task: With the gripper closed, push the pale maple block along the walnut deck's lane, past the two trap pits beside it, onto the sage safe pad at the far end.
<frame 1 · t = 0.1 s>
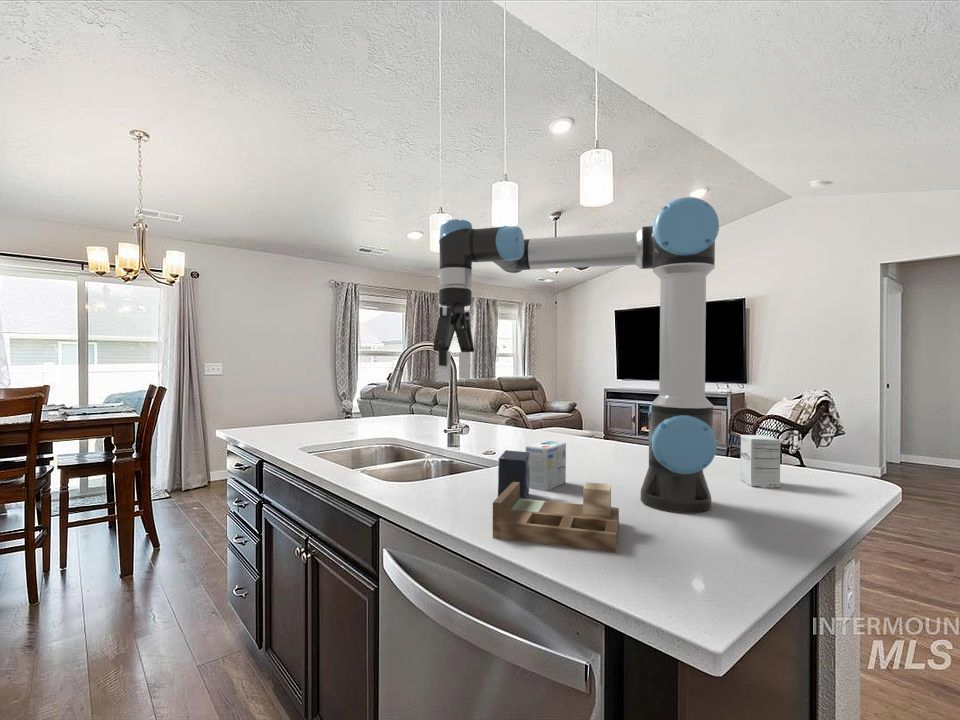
hand: (455, 379, 115), 28 cm above the worktop, fingers open, 13 cm apart
maple block: (597, 511, 97), point 3 cm above the worktop, touching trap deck
supplement box: (759, 484, 131), on the worktop
light bulb box: (546, 485, 129), on the worktop
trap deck: (558, 529, 95), on the worktop
small box: (514, 499, 116), on the worktop
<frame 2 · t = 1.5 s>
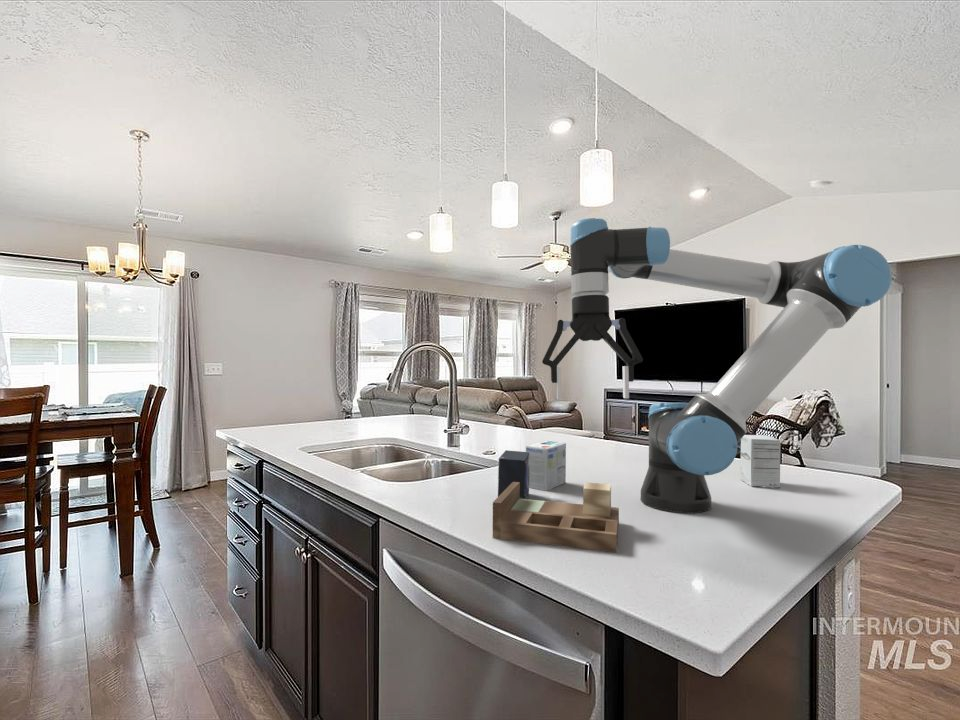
hand: (592, 398, 102), 25 cm above the worktop, fingers open, 13 cm apart
nothing on the worktop moved.
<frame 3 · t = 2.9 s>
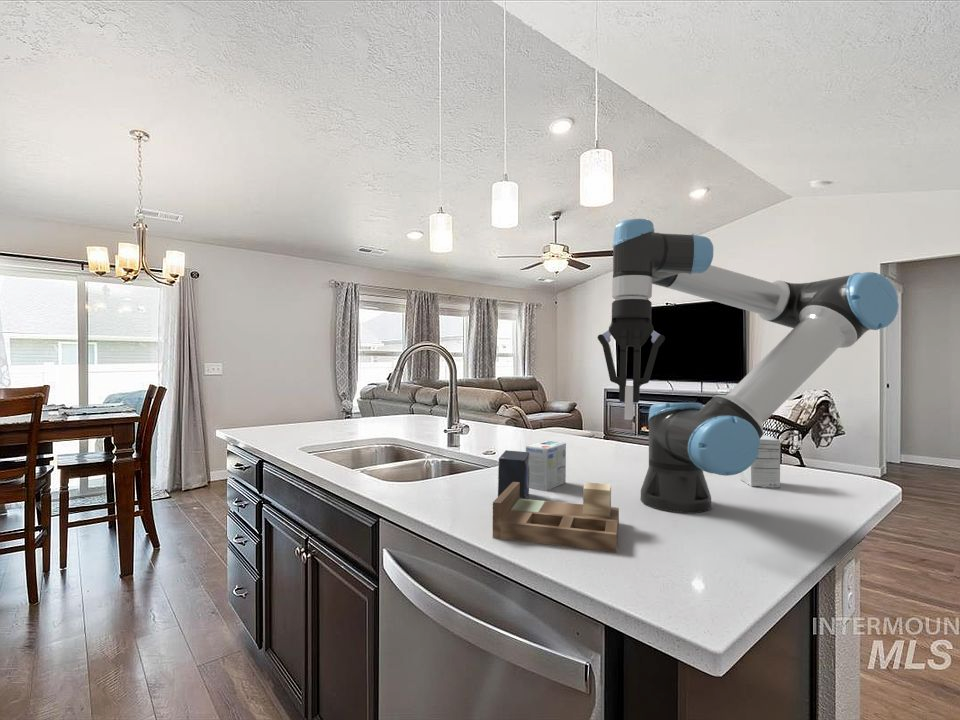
hand: (628, 418, 98), 21 cm above the worktop, fingers closed
nothing on the worktop moved.
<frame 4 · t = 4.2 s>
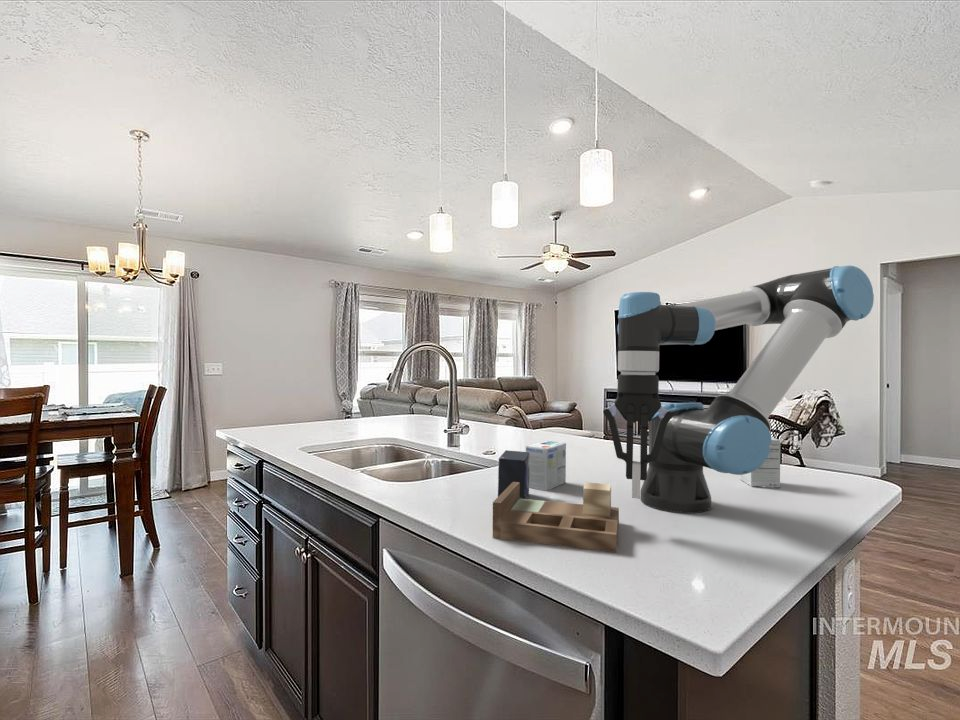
hand: (635, 496, 95), 7 cm above the worktop, fingers closed
nothing on the worktop moved.
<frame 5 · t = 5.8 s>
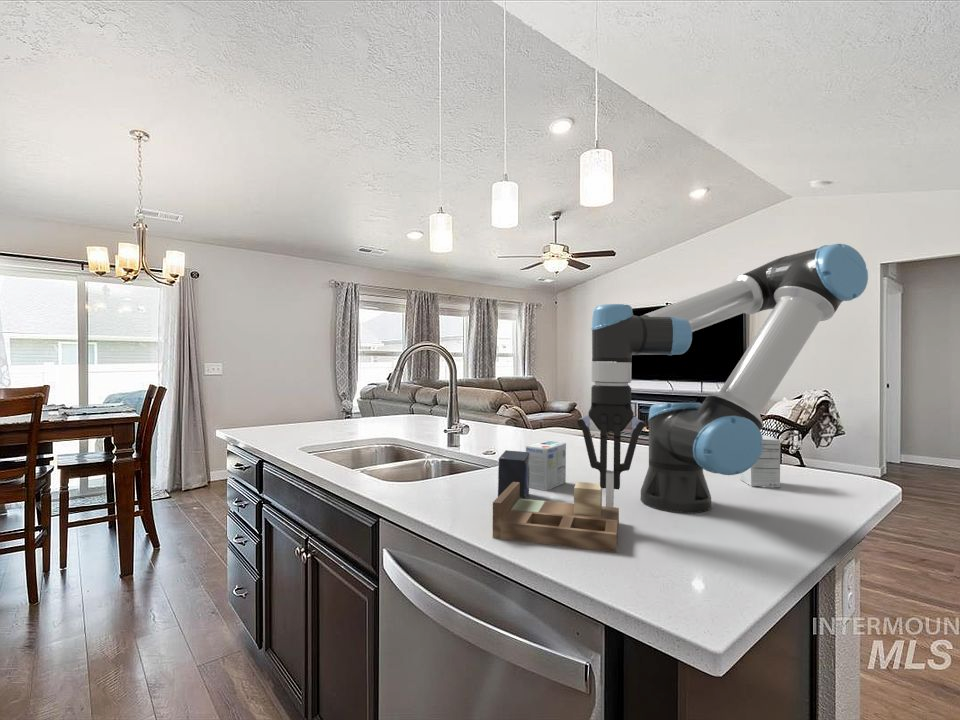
hand: (609, 505, 96), 5 cm above the worktop, fingers closed
maple block: (588, 510, 97), point 3 cm above the worktop, touching gripper, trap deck
everything else where it was.
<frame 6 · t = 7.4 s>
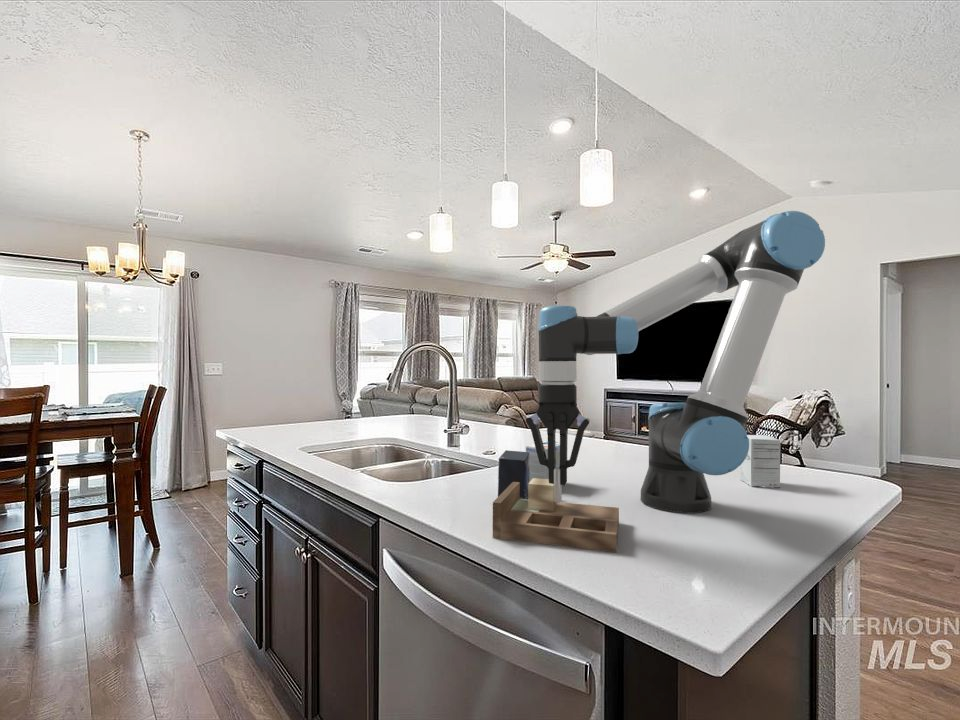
hand: (557, 500, 99), 5 cm above the worktop, fingers closed
maple block: (542, 506, 100), point 3 cm above the worktop, touching gripper
everything else where it was.
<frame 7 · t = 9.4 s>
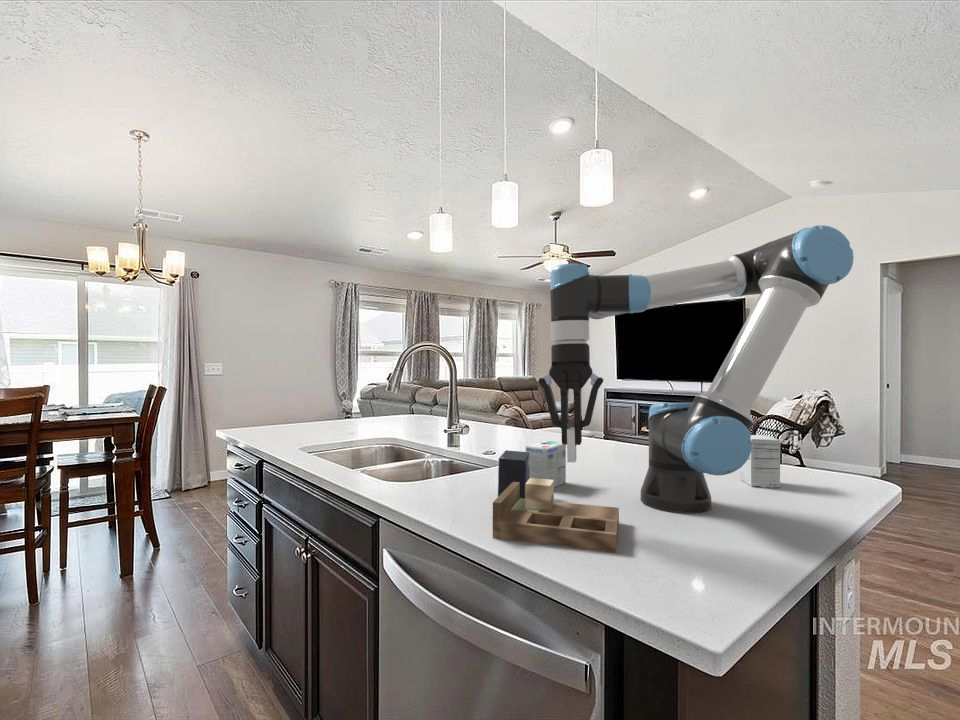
hand: (572, 460, 99), 13 cm above the worktop, fingers closed
maple block: (539, 506, 100), point 3 cm above the worktop, touching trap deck
everything else where it was.
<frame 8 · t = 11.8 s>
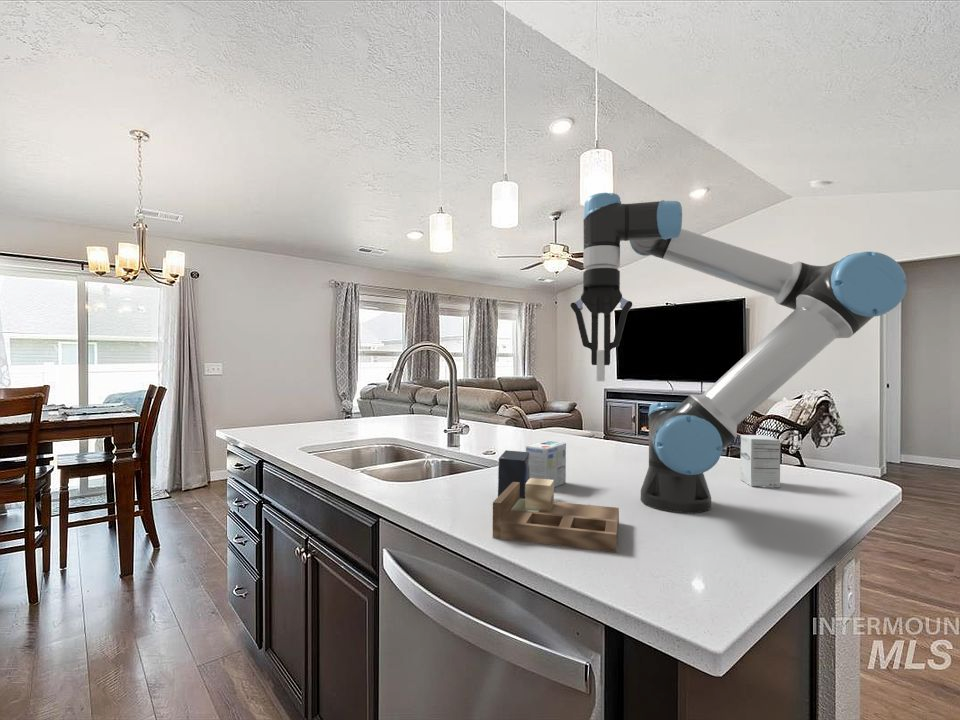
hand: (600, 380, 105), 28 cm above the worktop, fingers closed
nothing on the worktop moved.
at the end: maple block 1.9 cm from the target spot on the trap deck, point 3.0 cm above the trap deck's base; maple block tilted 0° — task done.
